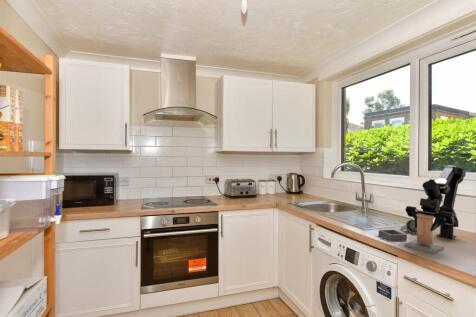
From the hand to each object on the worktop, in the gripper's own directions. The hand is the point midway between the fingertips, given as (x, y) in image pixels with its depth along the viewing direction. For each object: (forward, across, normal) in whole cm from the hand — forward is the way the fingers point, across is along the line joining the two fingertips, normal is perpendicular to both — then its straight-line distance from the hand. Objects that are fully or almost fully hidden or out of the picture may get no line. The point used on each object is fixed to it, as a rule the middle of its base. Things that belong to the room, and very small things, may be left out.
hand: (423, 229), depth 122 cm
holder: (+4, -15, +8) cm, 18 cm away
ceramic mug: (-12, -14, +25) cm, 31 cm away
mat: (+5, 0, +7) cm, 9 cm away
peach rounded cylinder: (+4, 0, +6) cm, 7 cm away
